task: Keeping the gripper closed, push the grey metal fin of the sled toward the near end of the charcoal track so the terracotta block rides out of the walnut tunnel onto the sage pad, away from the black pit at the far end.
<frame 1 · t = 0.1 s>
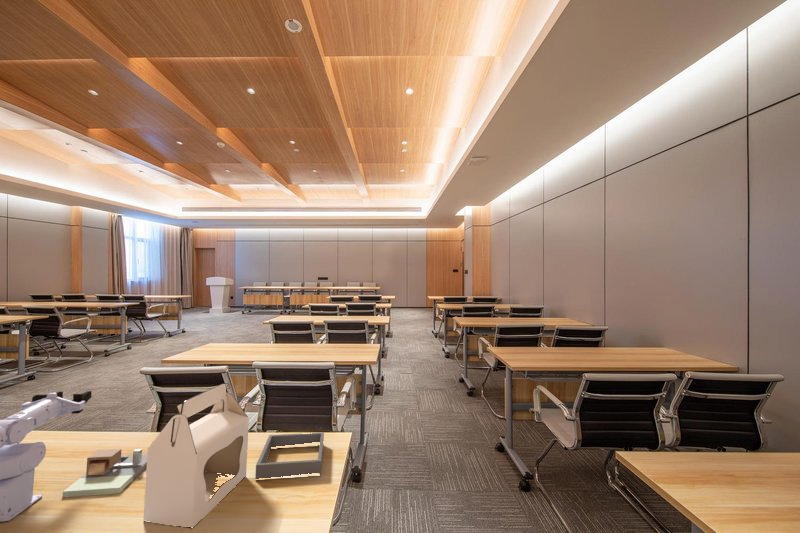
hand: (75, 394, 105), 22 cm above the table, tool horizontal, fingers open, 7 cm apart
sled: (117, 461, 101), point 4 cm above the table, slide at 0.0 cm
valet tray: (292, 461, 110), on the table
gable box: (200, 498, 91), on the table
toy block: (205, 449, 117), resting in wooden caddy
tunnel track: (103, 475, 99), on the table
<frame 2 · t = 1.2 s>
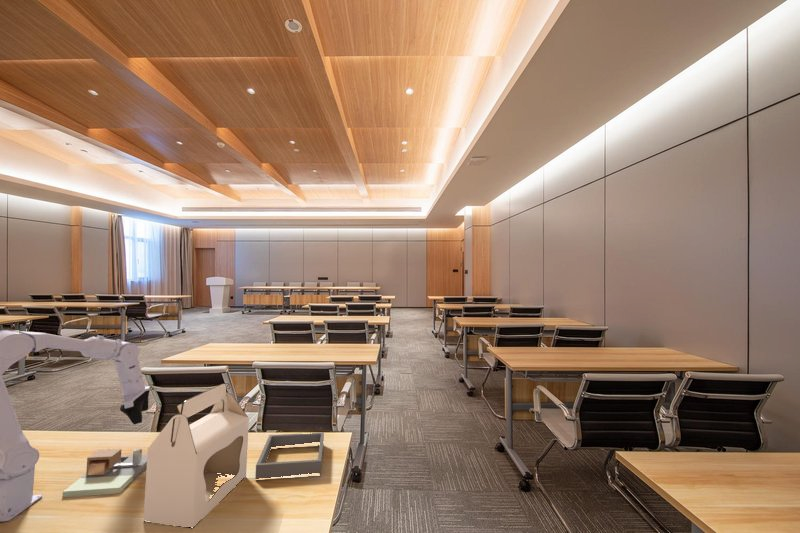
hand: (141, 416, 110), 13 cm above the table, tool tilted 15°, fingers open, 7 cm apart
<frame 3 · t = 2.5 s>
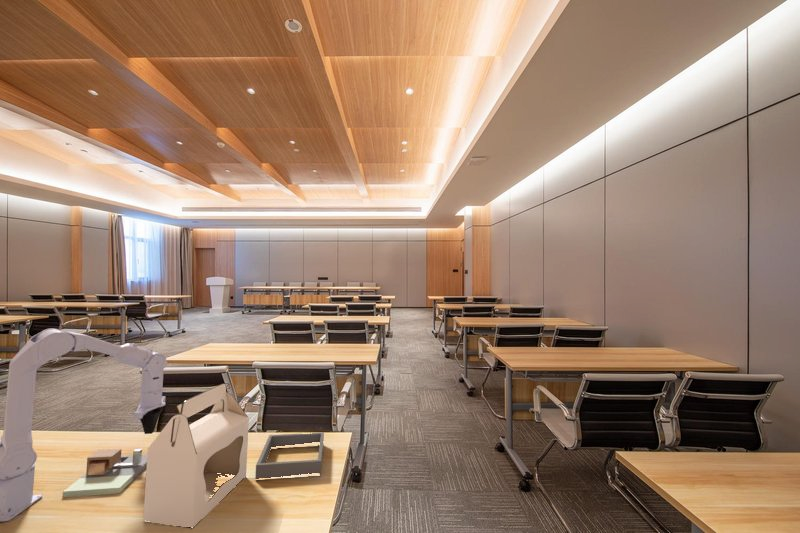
hand: (149, 432, 109), 8 cm above the table, tool pointing down, fingers closed
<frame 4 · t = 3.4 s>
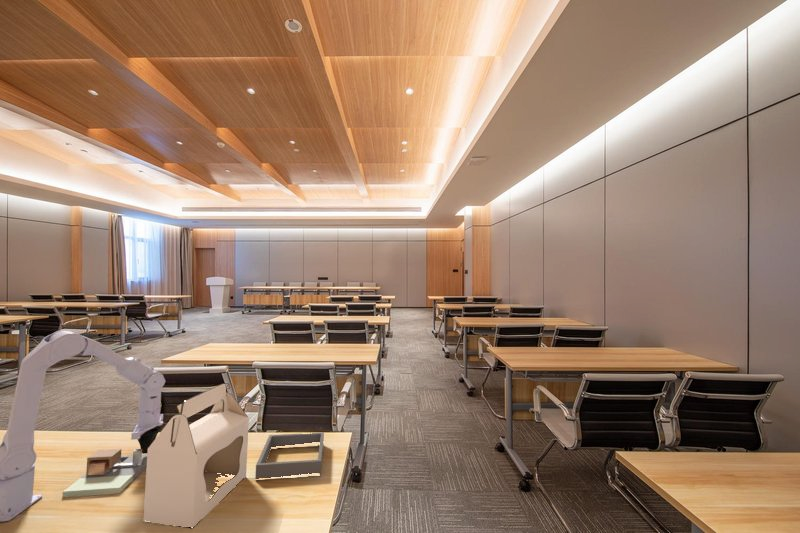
hand: (146, 452, 108), 3 cm above the table, tool pointing down, fingers closed
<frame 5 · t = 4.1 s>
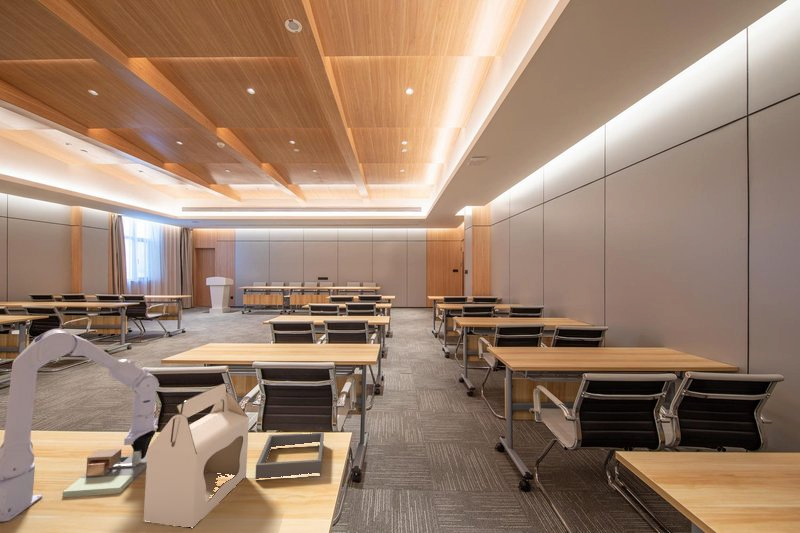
hand: (140, 458, 105), 3 cm above the table, tool pointing down, fingers closed
sled: (117, 461, 100), point 4 cm above the table, slide at 0.3 cm, touching gripper
toy block: (206, 451, 115), resting in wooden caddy
everything else where it was.
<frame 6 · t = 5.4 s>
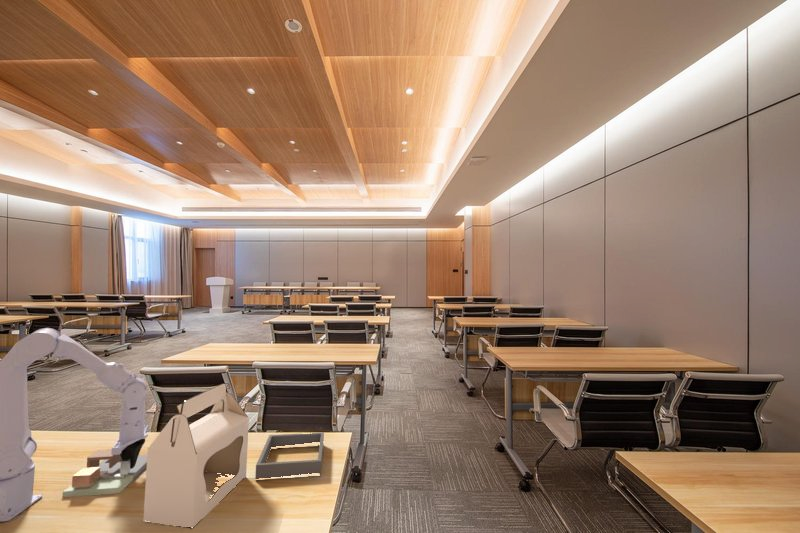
hand: (129, 467, 99), 3 cm above the table, tool pointing down, fingers closed
sled: (104, 472, 95), point 4 cm above the table, slide at 5.9 cm, touching gripper
toy block: (207, 451, 116), resting in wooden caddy
everything else where it was.
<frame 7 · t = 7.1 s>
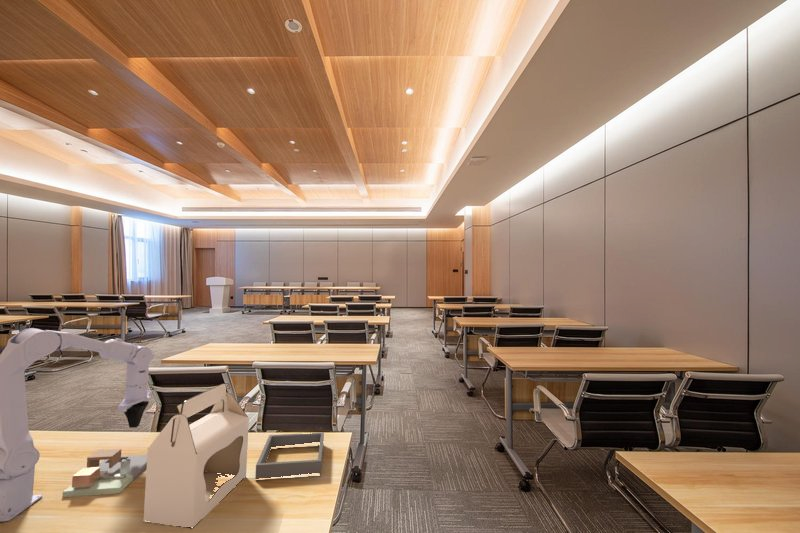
hand: (134, 426, 109), 10 cm above the table, tool pointing down, fingers closed
sled: (104, 472, 95), point 4 cm above the table, slide at 5.9 cm
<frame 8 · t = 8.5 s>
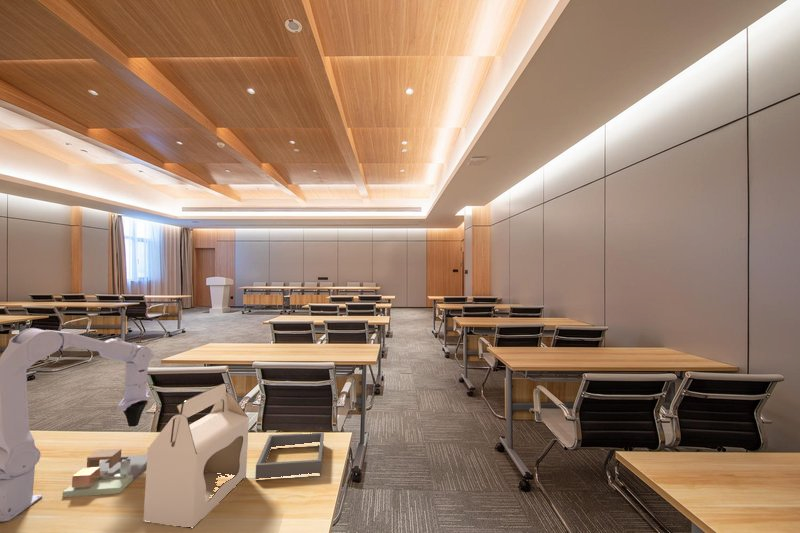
hand: (133, 425, 110), 10 cm above the table, tool pointing down, fingers closed
at the end: sled slide at 5.9 cm; sled 0.1 cm from the target spot on the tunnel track, point 3.8 cm above the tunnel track's base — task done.
